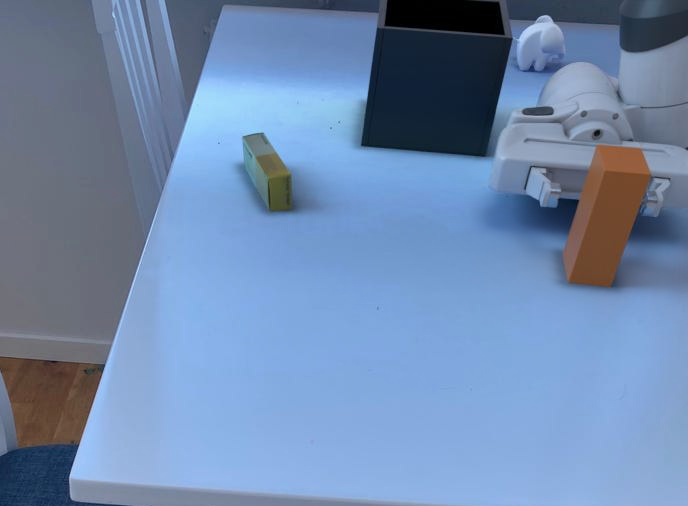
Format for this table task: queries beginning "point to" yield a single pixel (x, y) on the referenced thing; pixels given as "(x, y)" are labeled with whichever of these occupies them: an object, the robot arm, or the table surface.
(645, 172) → the block
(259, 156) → the medication box
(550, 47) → the elephant figurine
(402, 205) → the table surface
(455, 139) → the trash can
